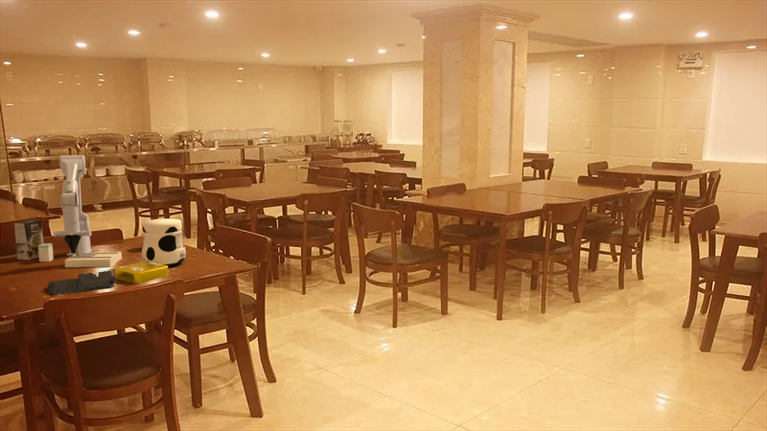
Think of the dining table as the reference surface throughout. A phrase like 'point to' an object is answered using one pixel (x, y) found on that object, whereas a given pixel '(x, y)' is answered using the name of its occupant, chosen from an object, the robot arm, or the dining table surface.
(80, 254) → the shutter
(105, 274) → the dark slate chunk
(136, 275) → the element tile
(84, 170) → the robot arm
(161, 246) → the milk container
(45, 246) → the plug
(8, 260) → the dining table surface
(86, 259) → the socket
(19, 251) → the coffee box
